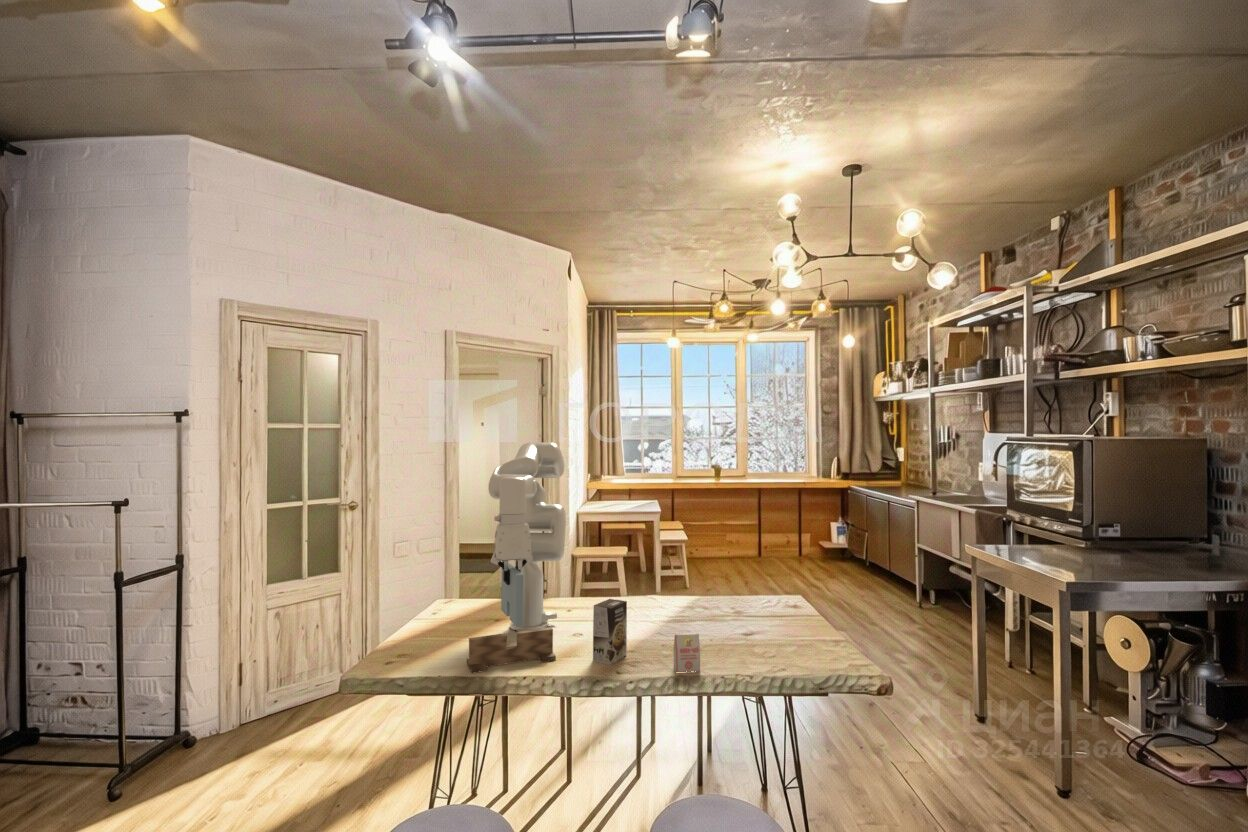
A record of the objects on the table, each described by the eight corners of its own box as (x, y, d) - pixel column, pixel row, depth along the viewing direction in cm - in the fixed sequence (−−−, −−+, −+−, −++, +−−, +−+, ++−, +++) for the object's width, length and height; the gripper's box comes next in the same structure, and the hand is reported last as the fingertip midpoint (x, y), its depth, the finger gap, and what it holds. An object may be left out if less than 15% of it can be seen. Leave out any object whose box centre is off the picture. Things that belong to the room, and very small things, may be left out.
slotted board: (547, 650, 185) (547, 624, 185) (555, 660, 177) (555, 632, 178) (466, 663, 175) (467, 634, 175) (471, 673, 168) (472, 643, 168)
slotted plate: (523, 625, 168) (523, 574, 169) (515, 626, 167) (516, 575, 168) (507, 609, 185) (508, 562, 185) (501, 609, 184) (501, 562, 184)
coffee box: (610, 665, 173) (610, 608, 174) (592, 661, 177) (592, 604, 177) (627, 655, 181) (627, 600, 182) (609, 651, 184) (609, 597, 185)
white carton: (673, 668, 171) (673, 632, 172) (697, 667, 172) (697, 631, 172) (675, 673, 168) (675, 636, 168) (700, 672, 168) (700, 636, 169)
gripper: (487, 522, 170) (486, 589, 170) (542, 519, 177) (542, 583, 176) (482, 519, 177) (481, 583, 177) (535, 516, 184) (535, 578, 183)
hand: (511, 583), depth 176 cm, fingers closed on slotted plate, 2 cm apart
